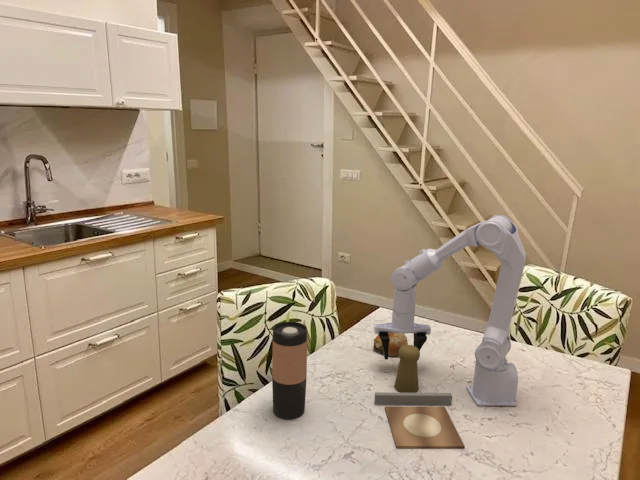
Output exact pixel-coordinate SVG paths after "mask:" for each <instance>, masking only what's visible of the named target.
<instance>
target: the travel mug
mask: <svg viewBox="0 0 640 480" xmlns="http://www.w3.org/2000/svg"><path fill="white" fill-rule="evenodd" d="M271 356H272V357H271V359H272V362H271V363H272V366H271V368H272V369H271V375H272V377H271V378H272V379H271V381H272V383H271V385H272V410H273V414H274V415H275V416H276V417H277V418H279V419H282V420H295V419H298V418H300V417H302V416H303V415H304V413H305V409H306V406H305V405H306V396H307V395H306V393H307V376H308V375H307V374H308V372H307V370H308V368H307V367H308V366H307V365H308V362H307V361H308V328H307V326H306V325H305V324H303V323H301V322H298V321H297V322H296V321H283V322H279V323H277V324H275V325H274V326H273V328H272V355H271Z"/></svg>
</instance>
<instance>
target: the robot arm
mask: <svg viewBox="0 0 640 480" xmlns="http://www.w3.org/2000/svg"><path fill="white" fill-rule="evenodd" d="M480 245H481V246H482V247H483V248H485V249H487V250H488V251H490V252H491V253H493V254H494V255H495V256H496V258H497V259H498V260H499V262H501V265H500V269H499V271H498V272H499V273H498V277H497V281H496V285H495V286H496V287H495V290H494V294H493V299H492V304H491V308H490V313H489V317H488V322H487V326H486V328H485V331H484V334H483V336H482V340H481V343H480V344H479V345H478V346H477V347H476V349H475V350H474V358H475V364H474V365H475V366H474V374H473V383H472V385H467V386H466V390H467V391H468V393H469V395H470V396H471V399H473V401H474V403H475V404H476V405H477V406H480V407H481V406H483V407H484V406H485V407H486V406H493V407H494V406H495V407H496V406H498V407H499V406H501V407H502V406H503V407H504V406H505V407H508V406H509V407H514V406H515V407H516V406H517V403H516V398H517V393H518V391H517V390H518V385H519V384H518V383H519V373H518V369H517V367H516V365H515V364H514V363H513V362H508V360H507V358H506V356H507V354H508V353H509V352H510V351H511V347H512V344H511V340H510V333H511V329H510V327H511V323H512V321H513V320H512V318H513V315H514V310H515V306H516V302H517V299H518V298H517V297H518V293H519V290H520V286H521V282H522V277H523V274H524V270H525V266H526V260H527V253H526V250H525V248H524V245H523V243H522V240H521V237H520V235H519V229H518V226H517V225H516V224H515V223H514V222H513V221H512V220H511V219H510V218H509V217H508V216H506V215H503V214H496V215H493V216H491V217H489V218H488V219H487V220H483V221H481V222H479V223H476V224H474V225H472V226H470V227H468V228H466V229H465V230H462V231H461V232H460V233H458V234H457V235H455V236H454V237H453V238H451V239H449V241H447V242H446V243H444V244H443V245H441V246H440V247H438V248H437V249H434V248H427V249H425V248H422V249H421V250H419V252H418V255H416V256H415V257H413V258H411V260H410V259H408V260H406V261H405V262H404V264H403V265H401V266H400V267H397V268H396V269H395V270H394V271H393V272H392V273H391V276H390V277H391V279H390V280H391V283H392V285H393V288H394V289H393V298H392V299H393V300H392V314H391V322H385V323H375V324H374V331H373V332H374V334H375V335H378V334H379V337H380V339H381V342H382V345H383V350H384V355H383V359H384V360H386V361H387V360H389V356H388V347H389V341H390V339H389V335H388V333H403V334H405V335H406V334H413V344H412V345H413V346H415V347H417V348H418V349H419V352H421V349H422V347H423V345H425V343H426V342H427V340H428V336H427V335H431V332H432V331H431V330H432V327H431V326H430V325H429V324H422V323H415V317H416V316H415V315H416V314H415V313H416V302H417V300H416V299H417V289H418V288H417V285H418V284H419V283H420V282H422V281H423V280H425V279H427V278H428V277H429V276H431V275H433V274H435V273H436V272H438V271H439V270H441V269H442V268H443V266H444V265H443V264H444V261H445V260H447V259H449V258H450V257H452V256H453V255H456V254H457V253H458V252H460V251H461V250H463V249H465V248H466V247H475V248H476V247H479V246H480Z"/></svg>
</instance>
